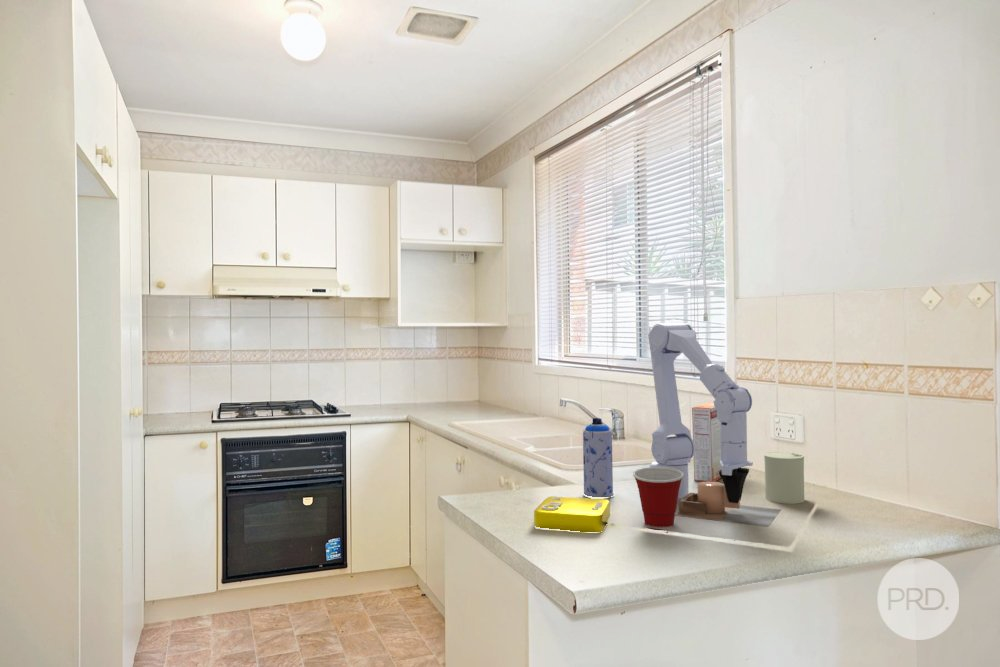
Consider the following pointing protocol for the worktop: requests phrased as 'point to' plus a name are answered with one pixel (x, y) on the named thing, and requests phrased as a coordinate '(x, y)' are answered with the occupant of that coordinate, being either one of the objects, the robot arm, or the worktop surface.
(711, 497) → the capsule with rectangular tab
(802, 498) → the can
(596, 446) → the aerosol can
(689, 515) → the cradle
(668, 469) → the plastic cup
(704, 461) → the cracker box
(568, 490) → the worktop surface
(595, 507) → the element tile
